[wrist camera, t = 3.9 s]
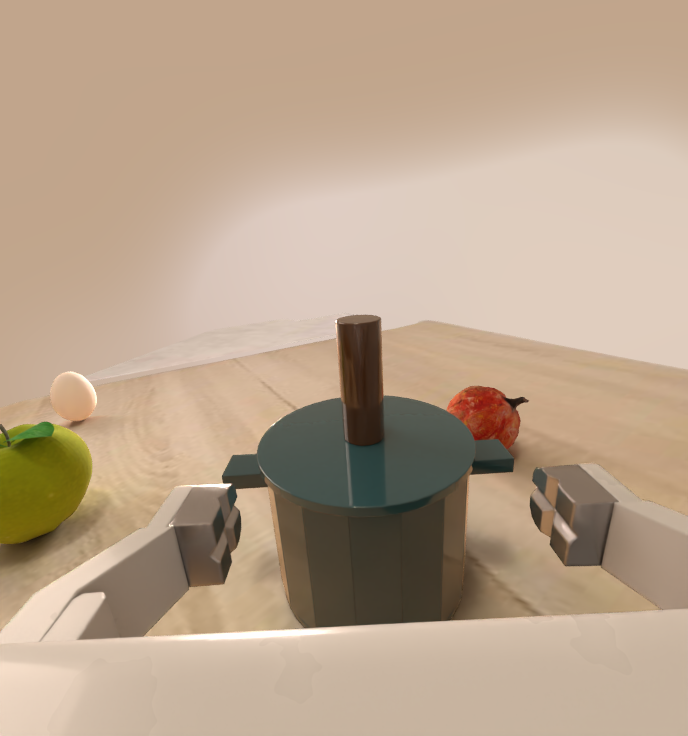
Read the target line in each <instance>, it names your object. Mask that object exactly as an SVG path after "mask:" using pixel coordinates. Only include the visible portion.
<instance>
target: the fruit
mask: <svg viewBox="0 0 688 736" xmlns="http://www.w3.org/2000/svg"><path fill="white" fill-rule="evenodd" d="M0 430H1V431H2V432H3V433H2V434H0V544H17V543H22V542H25V541H28V540H31V539H33V538H36V537H38V536H40V535H43V534H45V533H49V532H51V531H53V530H54V529H56V528H57V527H58V526H59V525H60V524H61V523H62V522H63V521H64V520H65V519H67V518H68V517H69V516H71V515H72V514H73V513H74V511H75V510H76V509H77V507H78V506H79V504H80V502H81V500H82V499H83V497H84V495H85V492H86V490H87V488H88V485H89V482H90V479H91V475H92V459H91V454H90V451H89V449H88V447H87V445H86V443H85V442H84V441H83V440H82V438H81V437H79V436H78V435H77V434H76V433H74V432H72V431H71V430H69V429H67V428H65V427H62V426H59V425H55V424H51V423H49V422H42V423H39V424H37V425H34V424H23V425H20V426H17V427H14V428H12V429H10V430H8V431H6V430H5V428H4V427H3V425H2V424H0Z"/></svg>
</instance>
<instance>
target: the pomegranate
mask: <svg viewBox="0 0 688 736" xmlns="http://www.w3.org/2000/svg"><path fill="white" fill-rule="evenodd" d="M528 401H529V400H527V399H525V398H524V397H520V398H516V399H508V398H506V396H505V394H503V393H502V392H501V391H499V390H497V389H495V388H490V387H482V386H470V387H468V388H466V389H464V390H462V391H461V392H459V393H458V394H457V395H456V396H455V397H454V398H453V399H452V400H451V401H450V403H449V405H448V407H447V412H449V413H451V414H453V415H454V416H456V417H457V418H458V419H460V420H461V421H462V422H463V423H464V424H465V425H466V426H467V427H468V429H469V430H470V431H471V433H472V435H473V437H474V440H489V439H499V441H500V442H501V443H502V444H503V445H504V447H505V448H506V449H508V448H510V447H511V446H512V445H513V444H514V441H515V439H516V438H517V436H518V433H519V426H520V417H519V414H518V411H517V410H516V407H517V406H518V405H520V404H521V403H524V402H528Z"/></svg>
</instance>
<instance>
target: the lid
mask: <svg viewBox="0 0 688 736" xmlns="http://www.w3.org/2000/svg"><path fill="white" fill-rule="evenodd" d="M336 336H337V350H338V364H339V378H340V392H341V398H335V399H330V400H326V401H321V402H318V403H314V404H311V405H308V406H305V407H303V408H300V409H298V410H296V411H294V412H292V413H290V414H288V415H286V416H284V417H283V418H281V419H280V420H278V421H277V422H276V423H275V424H273V425H272V426H271V427H270V428H269V429H268V430H267V431H266V432H265V434H264V435H263V437H262V438H261V441H260V443H259V445H258V450H257V462H258V468H259V471H260V474H261V476H262V478H263V479H264V481H265V483H266V484H267V485H268V486H269V487H270V488H271V489H272V490H273V491H274V492H275V493H276V494H278V495H279V496H281V497H282V498H283V499H285V500H287V501H289V502H291V503H293V504H295V505H297V506H300V507H303V508H305V509H308V510H311V511H315V512H320V513H324V514H329V515H336V516H344V517H379V516H388V515H395V514H401V513H405V512H409V511H413V510H417V509H420V508H422V507H425V506H428V505H431V504H433V503H435V502H437V501H439V500H441V499H443V498H445V497H447V496H448V495H450V494H451V493H453V492H454V491H455V490H457V489H458V488H459V487H460V486H461V485H462V484H463V483H464V482H465V481H466V480H467V478H468V477H469V475H470V474H471V472H472V470H473V467H474V465H475V459H476V444H475V440H474V437H473V435H472V433H471V431H470V430H469V429H468V427H467V426H466V425H465V424H464V423H463V422H462V421H461V420H460V419H458V418H457V417H456V416H454V415H453V414H451V413H449V412H447V411H446V410H443V409H441V408H439V407H437V406H434V405H431V404H429V403H425V402H422V401H418V400H413V399H409V398H402V397H395V396H383V364H382V332H381V318H380V317H378V316H373V315H353V316H346V317H342V318H339V319H337V320H336Z"/></svg>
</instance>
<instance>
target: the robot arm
mask: <svg viewBox="0 0 688 736" xmlns="http://www.w3.org/2000/svg"><path fill="white" fill-rule="evenodd" d="M532 481H533V482H534V484H535V485H536V486H537V488H536V489H535V491H534V492H533V493H532V494H531V497H530V509H531V514H532V518H533V520H534V522H535V524H536V526H537V527H538V529H539V530H540V532H542V533H544V534H545V535H547V536H549V537H551V540H550V546H551V547H552V549H553V550H554V551H555V553H556V554H557V556H558V557H559V558H560V560H561V561H562V563H563V564H564V565H565V566H601V568H603V569H604V570H606V571H607V572H609V573H610V574H611V575H613V576H614V577H616V578H617V579H619V580H620V581H622V582H623V583H624V584H626V585H627V586H629V587H630V588H632V589H633V590H635V591H636V592H637V593H639V594H640V595H642V596H643V597H645V598H646V599H647V600H649V601H650V602H652V603H653V604H655V605H656V606H658V607H659V608H660V609H662V610H650V611H633V612H614V613H594V614H574V615H553V616H533V617H513V618H493V619H473V620H454V621H435V622H416V623H397V624H378V625H359V626H340V627H320V628H301V629H282V630H262V631H243V632H224V633H204V634H185V635H165V636H146V637H143V636H144V635H145V634H146V633H147V632H148V631H149V630H150V629H151V628H152V627H153V626H154V625H155V624H156V623H157V622H158V621H159V620H160V619H161V618H162V617H163V616H164V615H165V614H166V613H167V611H168V610H169V609H170V608H171V607H172V606H173V605H174V604H175V603H176V602H177V601H178V600H179V599H180V598H181V597H182V596H183V595H184V594H185V593H186V592H187V591H188V590H189V587H197V586H209V585H221V584H224V583H225V580H226V577H227V574H228V571H229V569H230V566H231V563H232V560H231V554H230V553H231V552H232V551H233V550H235V549H236V548H237V545H238V542H239V539H240V532H241V516H240V511H239V510H238V509H237V508H236V507H235V506H234V503H235V501H236V498H237V494H236V489H235V486H234V485H233V484H205V485H182V486H177V487H174V488H173V490H172V491H171V493H170V494H169V495H168V497H167V498H166V500H165V501H164V503H163V504H162V505H161V507H160V508H159V510H158V511H157V513H156V514H155V515H154V517H153V518H152V520H151V521H150V523H149V524H148V525H147V527H146V528H139V529H138V530H136V531H134V532H133V533H131V534H130V535H128V536H126V537H125V538H123V539H122V540H120V541H118V542H117V543H115V544H113V545H112V546H110V547H109V548H107V549H105V550H104V551H102V552H101V553H99V554H97V555H96V556H94V557H92V558H91V559H89V560H88V561H86V562H84V563H83V564H81V565H79V566H78V567H76V568H75V569H73V570H71V571H70V572H68V573H67V574H65V575H63V576H62V577H60V578H58V579H57V580H55V581H54V582H52V583H50V584H49V585H47V586H46V587H44V588H42V589H41V590H39V591H37V592H36V593H34V594H33V595H32V596H31V597H30V598H29V600H28V601H27V602H26V603H25V604H24V605H23V606H22V607H21V609H20V610H19V611H18V612H17V613H16V614H15V615H14V616H13V618H12V619H11V620H10V621H9V622H8V623H7V624H6V625H5V627H4V628H3V629H2V630H1V631H0V736H688V516H687V515H684V514H681V513H679V512H676V511H674V510H671V509H669V508H666V507H664V506H661V505H659V504H656V503H654V502H651V501H642V500H641V499H640V498H639V497H637V496H636V495H635V494H634V493H633V492H631V491H630V490H629V489H628V488H627V487H625V486H624V485H623V484H622V483H621V482H619V481H618V480H617V479H616V478H615V477H613V476H612V475H611V474H610V473H609V472H607V471H606V470H605V469H604V468H603V467H601V466H600V465H598V464H595V463H584V464H574V465H564V466H550V467H536V469H535V471H534V473H533V480H532Z"/></svg>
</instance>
